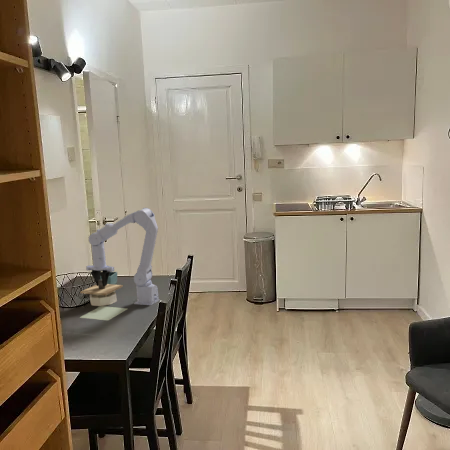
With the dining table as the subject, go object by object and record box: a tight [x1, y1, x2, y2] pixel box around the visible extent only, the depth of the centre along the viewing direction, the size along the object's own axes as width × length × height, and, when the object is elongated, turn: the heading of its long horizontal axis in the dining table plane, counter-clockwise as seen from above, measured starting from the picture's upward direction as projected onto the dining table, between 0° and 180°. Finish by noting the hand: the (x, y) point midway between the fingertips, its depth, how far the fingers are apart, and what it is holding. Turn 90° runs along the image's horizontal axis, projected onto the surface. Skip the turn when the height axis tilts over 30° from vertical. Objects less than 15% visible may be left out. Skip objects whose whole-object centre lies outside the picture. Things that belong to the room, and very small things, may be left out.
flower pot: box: [100, 271, 118, 285], centre depth 245 cm, size 9×9×9 cm
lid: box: [79, 279, 124, 295], centre depth 225 cm, size 14×14×5 cm
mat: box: [79, 305, 128, 321], centre depth 211 cm, size 15×15×1 cm
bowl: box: [89, 290, 118, 307], centre depth 226 cm, size 12×12×4 cm
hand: (101, 285), depth 225 cm, fingers closed on lid, 3 cm apart
